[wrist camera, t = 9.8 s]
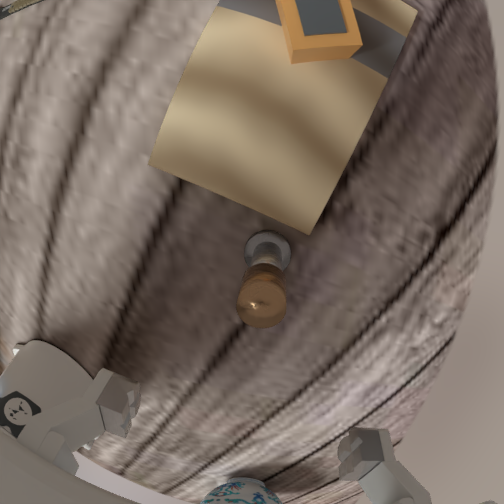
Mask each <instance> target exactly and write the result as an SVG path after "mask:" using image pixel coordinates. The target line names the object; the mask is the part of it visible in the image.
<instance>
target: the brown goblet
mask: <svg viewBox="0 0 504 504" xmlns="http://www.w3.org/2000/svg"><path fill="white" fill-rule="evenodd" d="M244 256H245V260H246V263H247V265H248V266H249V267H250V268H249V269H247V271H246V272H245V274H244V276H243V280H242V284H241V288H240V292H239V296H238V300H237V304H236V310H237V313H238V315H239V317H240V318H241V320H242V321H243V322H245V323H246V324H248V325H250V326H252V327H256V328H269V327H272V326H275V325H277V324H278V323H279V322H280V321H281V320H282V319H283V318H284V316H285V314H286V278H285V275H284V273H283V272H282V271H283V270H284V269H285V268H286V267H287V266H288V264H289V262H290V259H291V249H290V245H289V242H288V241H287V239H286V238H285V237H284V236H283V235H281V234H280V233H278V232H275V231H272V230H264V231H260V232H257V233H255V234H254V235H252V236H251V237H250V239H249V240H248V242H247V244H246V247H245V251H244Z"/></svg>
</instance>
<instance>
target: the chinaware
mask: <svg viewBox="0 0 504 504" xmlns="http://www.w3.org/2000/svg"><path fill="white" fill-rule="evenodd" d="M200 504H282V502H281V501H280V499H279V498H278V497H277V496H276V495H275V494H274V493H273V492H272V491H270V490H269V489H267V488H265V484H264V483H263V482H262V481H260V480H257V479H253V478H245V477H237V478H232V479H229V480H228V481H227V483H226V484H223V485H221V486H219V487H217V488H215V489H213V490H212V491H211V492H209V493H208V494H207V495H206V496H205V497H204V499H203V500H202V502H201V503H200Z"/></svg>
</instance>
